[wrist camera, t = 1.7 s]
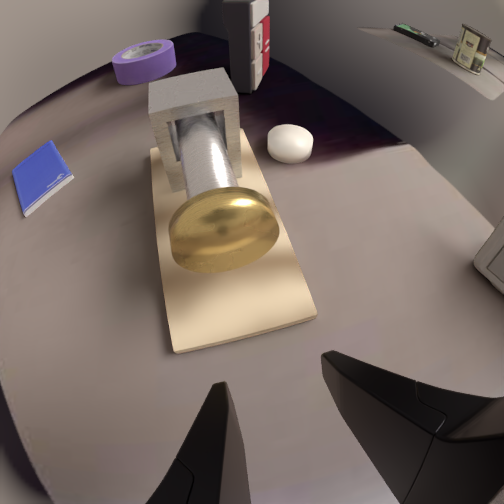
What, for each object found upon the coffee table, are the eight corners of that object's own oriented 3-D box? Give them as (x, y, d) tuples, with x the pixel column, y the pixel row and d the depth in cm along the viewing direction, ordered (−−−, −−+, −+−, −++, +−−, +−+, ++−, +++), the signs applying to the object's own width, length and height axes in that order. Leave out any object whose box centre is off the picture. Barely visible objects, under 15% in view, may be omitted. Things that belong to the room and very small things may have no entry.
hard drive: (71, 172, 30) (51, 138, 35) (21, 212, 28) (11, 170, 32) (76, 180, 32) (54, 146, 36) (28, 219, 29) (15, 177, 34)
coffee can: (476, 69, 59) (488, 36, 47) (481, 78, 54) (495, 42, 42) (450, 55, 61) (460, 21, 49) (453, 63, 57) (464, 25, 45)
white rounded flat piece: (317, 161, 32) (320, 148, 30) (275, 168, 31) (276, 154, 29) (301, 135, 34) (302, 122, 32) (262, 141, 33) (262, 127, 32)
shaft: (276, 258, 21) (283, 197, 15) (184, 281, 20) (157, 226, 14) (224, 119, 30) (220, 66, 24) (164, 132, 29) (151, 80, 23)
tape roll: (180, 56, 49) (177, 35, 45) (171, 79, 43) (166, 54, 39) (126, 66, 49) (121, 46, 45) (110, 91, 43) (102, 69, 39)
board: (315, 318, 23) (317, 314, 22) (177, 354, 21) (173, 351, 20) (242, 135, 34) (242, 128, 33) (152, 155, 32) (150, 148, 32)
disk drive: (438, 46, 67) (401, 29, 72) (440, 40, 64) (403, 22, 69) (432, 49, 63) (392, 30, 68) (434, 42, 61) (394, 24, 66)
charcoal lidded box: (256, 95, 39) (255, 1, 26) (227, 92, 39) (221, 1, 26) (270, 67, 44) (271, -9, 31) (246, 65, 45) (244, -10, 32)
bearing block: (242, 177, 29) (238, 94, 21) (172, 193, 28) (148, 113, 20) (229, 141, 32) (223, 67, 24) (167, 155, 31) (149, 82, 23)
